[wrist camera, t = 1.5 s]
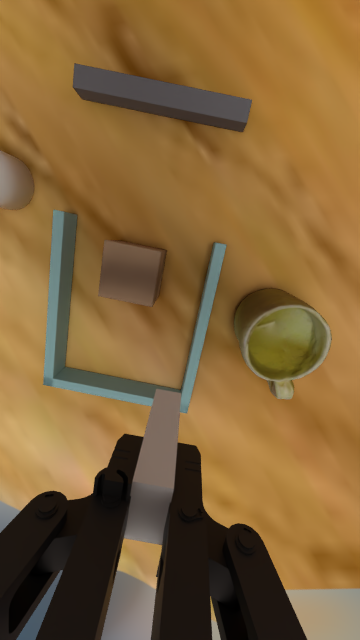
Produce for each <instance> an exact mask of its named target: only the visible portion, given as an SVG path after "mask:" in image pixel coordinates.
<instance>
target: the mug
mask: <svg viewBox="0 0 360 640" xmlns="http://www.w3.org/2000/svg"><path fill="white" fill-rule="evenodd" d="M234 330H235V334H236V337H237V339H238V341H239V345H240V349H241V353H242V356H243V358H244V360H245V362H246V364H247V366H248V367H249V368H250V369H251V370H252V371H253V372H254V373H255V374H256V375H257V376H259V377H261V378H263V379H265V380H267V382H268V384H269V388H270V391H271V393H272V394H273V395H274V396H275V397H276V398H278V399H291V398H292V396H293V393H294V385H293V382H292V380H293V379H298V378H302V377H304V376H306V375H308V374H309V373H311V372H312V371H314V370H315V369H317V368H318V367H319V366H320V364H321V363H322V362H323V361H324V359H325V358H326V356H327V353H328V351H329V350H330V346H331V340H332V336H331V330H330V327H329V325H328V324H327V322H326V321H325V319H324V318H323V317H322V316H321V315H320V314H319V313H318V312H317V311H316V310H315V309H314V308H312V307H311V306H310V305H308V304H307V303H305V302H304V301H302V300H300V299H298V298H296V297H295V296H293V295H291V294H289V293H287V292H285V291H283V290H279V289H263V290H259V291H256V292H254V293H252V294H250V295H249V296H247V297H246V298H245V299H244V300H243V301H242V302H241V303H240V305H239V307H238V308H237V310H236V313H235V317H234Z"/></svg>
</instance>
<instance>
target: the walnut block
mask: <svg viewBox="0 0 360 640" xmlns="http://www.w3.org/2000/svg"><path fill="white" fill-rule="evenodd" d="M166 252H167V250H163V249H159V248H154V247H149V246H144V245H139V244H134V243H129V242H124V241H119V240H105V241H104V249H103V258H102V267H101V276H100V285H99V294H98V296H101V297H106V298H111V299H115V300H120V301H125V302H130V303H135V304H140V305H145V306H150V307H152V306H153V304H154V303H155V301H156V300H157V298H158V297H159V292H160V286H161V280H162V275H163V269H164V264H165V258H166Z"/></svg>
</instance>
